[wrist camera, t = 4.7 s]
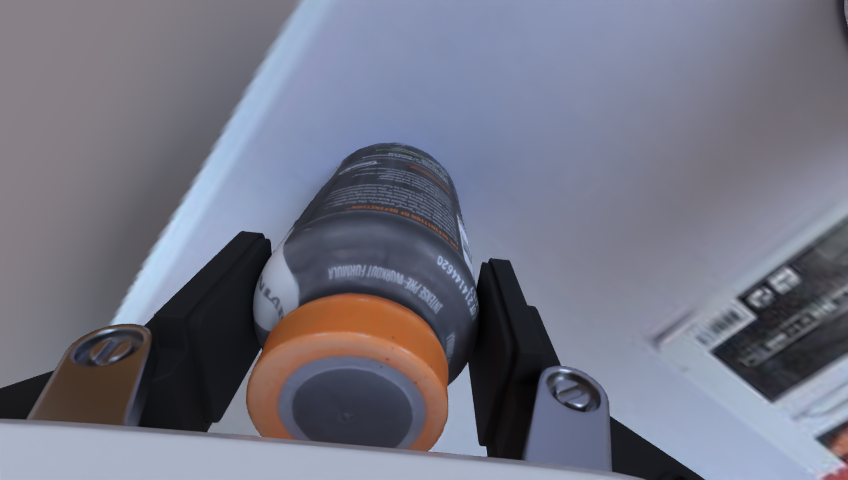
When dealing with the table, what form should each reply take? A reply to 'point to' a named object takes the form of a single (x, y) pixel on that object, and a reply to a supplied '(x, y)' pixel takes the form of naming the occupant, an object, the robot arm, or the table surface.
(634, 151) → the table surface
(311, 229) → the pill bottle
